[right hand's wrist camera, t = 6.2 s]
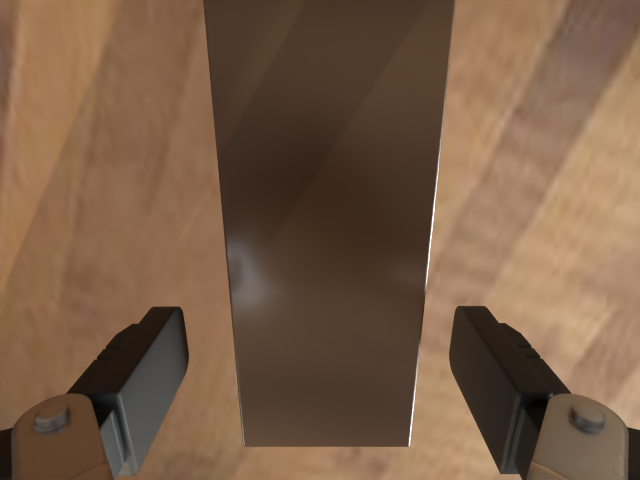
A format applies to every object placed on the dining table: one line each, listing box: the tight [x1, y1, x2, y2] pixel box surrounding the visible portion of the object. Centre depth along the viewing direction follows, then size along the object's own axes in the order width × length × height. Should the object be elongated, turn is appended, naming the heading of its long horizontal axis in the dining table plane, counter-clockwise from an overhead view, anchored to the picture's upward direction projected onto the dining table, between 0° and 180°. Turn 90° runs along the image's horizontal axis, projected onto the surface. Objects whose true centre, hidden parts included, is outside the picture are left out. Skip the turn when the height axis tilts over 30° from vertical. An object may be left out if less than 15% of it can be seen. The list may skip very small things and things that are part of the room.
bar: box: [203, 0, 456, 447], centre depth 12 cm, size 26×5×9 cm, turn 0°
